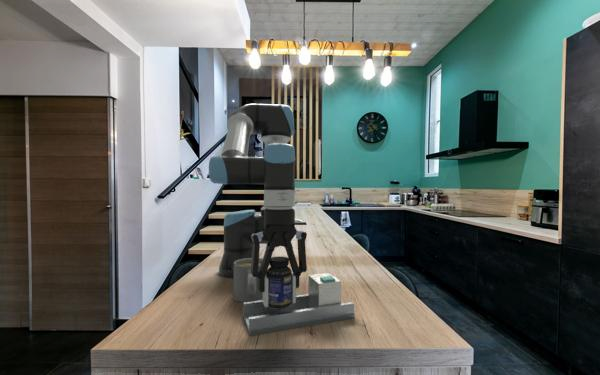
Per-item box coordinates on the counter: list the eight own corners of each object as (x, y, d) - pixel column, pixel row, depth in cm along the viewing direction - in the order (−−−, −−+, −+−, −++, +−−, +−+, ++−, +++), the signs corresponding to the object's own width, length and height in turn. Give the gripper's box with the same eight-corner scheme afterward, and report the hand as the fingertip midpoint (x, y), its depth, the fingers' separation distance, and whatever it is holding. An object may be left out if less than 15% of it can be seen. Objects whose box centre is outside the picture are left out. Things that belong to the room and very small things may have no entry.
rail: (243, 316, 71) (243, 277, 71) (336, 302, 80) (336, 268, 80) (249, 335, 61) (249, 291, 61) (354, 317, 70) (354, 279, 70)
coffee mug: (237, 289, 90) (237, 257, 90) (268, 289, 90) (269, 257, 90) (226, 307, 76) (226, 270, 76) (263, 307, 76) (263, 270, 76)
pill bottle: (288, 310, 65) (288, 262, 65) (262, 307, 66) (263, 261, 66) (293, 299, 71) (294, 256, 71) (270, 297, 73) (270, 255, 72)
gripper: (242, 209, 62) (241, 315, 62) (321, 208, 68) (321, 303, 68) (237, 207, 69) (237, 302, 69) (310, 206, 76) (310, 292, 75)
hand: (279, 302), depth 69 cm, fingers closed on pill bottle, 6 cm apart
